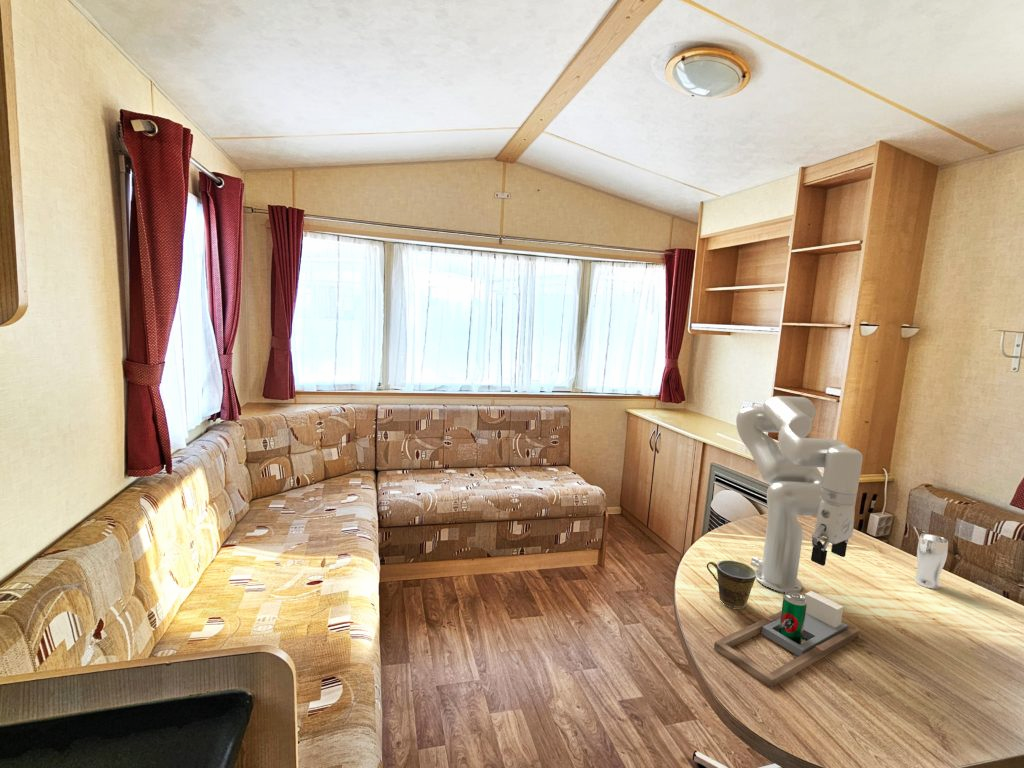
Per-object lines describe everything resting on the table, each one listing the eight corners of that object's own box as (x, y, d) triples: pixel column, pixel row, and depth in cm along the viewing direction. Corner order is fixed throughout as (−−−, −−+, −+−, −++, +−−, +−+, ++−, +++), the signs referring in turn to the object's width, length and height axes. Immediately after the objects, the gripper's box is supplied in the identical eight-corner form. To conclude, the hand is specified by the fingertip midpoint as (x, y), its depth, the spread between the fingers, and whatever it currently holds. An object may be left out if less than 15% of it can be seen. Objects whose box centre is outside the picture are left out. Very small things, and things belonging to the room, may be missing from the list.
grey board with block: (761, 633, 123) (764, 608, 122) (807, 611, 134) (810, 587, 133) (801, 658, 115) (805, 630, 114) (847, 632, 125) (850, 606, 124)
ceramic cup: (757, 603, 137) (761, 569, 136) (745, 617, 130) (749, 582, 129) (710, 584, 146) (714, 553, 145) (697, 597, 139) (700, 564, 137)
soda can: (804, 649, 118) (811, 603, 117) (782, 646, 119) (788, 600, 117) (796, 636, 123) (802, 591, 122) (775, 633, 124) (780, 589, 122)
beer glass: (917, 586, 150) (924, 540, 148) (908, 576, 157) (916, 531, 155) (945, 592, 148) (953, 545, 146) (935, 581, 154) (943, 536, 152)
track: (713, 648, 117) (714, 640, 117) (801, 607, 136) (802, 600, 136) (771, 688, 105) (772, 679, 105) (858, 636, 124) (859, 629, 124)
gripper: (836, 507, 116) (825, 574, 119) (871, 495, 125) (860, 558, 128) (803, 496, 122) (794, 559, 125) (839, 485, 131) (830, 545, 134)
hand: (828, 558), depth 126 cm, fingers open, 9 cm apart
